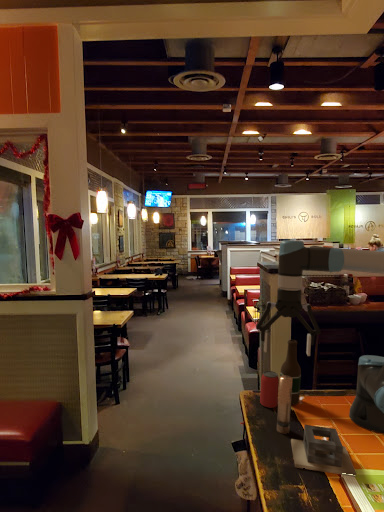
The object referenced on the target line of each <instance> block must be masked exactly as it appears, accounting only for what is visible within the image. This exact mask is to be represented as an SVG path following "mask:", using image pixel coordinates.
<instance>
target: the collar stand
mask: <svg viewBox="0 0 384 512" xmlns="http://www.w3.org/2000/svg"><path fill="white" fill-rule="evenodd" d="M303 428H304V429H303V440H302V439H295V438H291V439H290V444H291V450H292V451H291V452H292V457H293V462H294V467H295V468H298V469H303V468H305V469H304V470H310V471H311V470H312V471H318V472H322V473H323V472H324V473H330V474H336V475H337V474H338V475H342V473H346V474H353V475H356V476H357V471H356V469H355V467H354V465H353V462H352V459H351V457H350V455H349V451H348V450H347V448H346V446H345V445H343V444H342V440H341V438H340V435H339V433H338V431H337V429H336V428H335V427H334V428H333V427H325V426H318V425H317V426H316V425H310V424H304V427H303ZM316 437H322V438H328V439H321V438H316Z"/></svg>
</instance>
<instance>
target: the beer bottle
mask: <svg viewBox="0 0 384 512" xmlns="http://www.w3.org/2000/svg"><path fill="white" fill-rule="evenodd" d="M297 345H298V341H297V340H295V339H288V341H287V352H286V358H285V360H284V362H283V363H282V365H281V367H280V374H279V377H280V376H282V375H287V376H290V377H292V394H291V406H295V405H298V403H299V402H300V394H301V380H302V368H301V366H300V364H299V362H298V358H297V357H298V355H297V354H298V353H297V351H298V350H297V349H298V348H297Z"/></svg>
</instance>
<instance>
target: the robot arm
mask: <svg viewBox="0 0 384 512" xmlns="http://www.w3.org/2000/svg"><path fill="white" fill-rule="evenodd" d="M278 249H279V251H278V268H277V270H278V273H277V275H278V276H277V287H278V288H277V295H276V302H271V301H270V300H268V301H267V302H266V307H265V309H264V311H263V313H262V314H261V316H260V318H259V319H258V321H257V323H256V325H255V330H257V331H260V340H261V342H264V343H263V345H264V346H263V352H264V353H267V350H268V329H269V328H270V327H271V326H272V325H273V324H274V323H275V322H276V321H277V320H278V319H279V318H281V317H283V318H291V319H292V318H293V319H294V318H295V317H296V318H297V319H298V320H299V321H300V323H301V324H302V326H303V327H304V328H305V330H307V331H308V333H307V335H306V351H305V353H306V355H307V357H311V347H312V346H314V345H315V337H316V335H321V334H322V332H321V329H320V326H319V325H318V322H317V320H316V318H315V316H314V314H313V310H312V305H311V304H310V303H306V304H302V288H303V272H304V271H306V272H307V271H308V272H309V271H311V272H324V273H325V272H327V273H328V272H329V273H335V272H336V273H340V272H341V271H351V272H361V273H369V274H380V275H384V251H377V250H368V249H367V250H366V249H354V248H341V247H329V246H320V245H312V246H309V247H307V246H305V242H304V241H303V240H288V239H287V240H282V241H280V244H279V248H278ZM274 307H275V308H276V310H277V311H275V313H274V314H273V315H272V316H271V317H270V318H269V319H267V321H266V322H265V320H266V318H267V317H268V315H269V314H270V312H271V310H273V308H274ZM302 309H304V311H305V312H306V313H307V315H308V317H309V319H310V322H311V323H312V326H313V327H314V329H312V327H311V326H310V325H309V323H308V322H307V320H305V318H304V317H303V316H302V315H301V314H300V312H301V311H302ZM264 322H265V324H264ZM348 416H349V418H350V421H352V422H353V423H354V424H356V425H357V426H359V427H361V428H362V429H366V430H367V431H371V432H375V433H383V434H384V356H379V355H373V354H371V355H369V354H366V355H365V354H364V355H361V356H360V357H359V358H358V364H357V379H356V393H355V398H354V399H353V401H352V403H351V406H350V408H349V414H348Z"/></svg>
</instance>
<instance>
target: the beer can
mask: <svg viewBox="0 0 384 512" xmlns="http://www.w3.org/2000/svg"><path fill="white" fill-rule="evenodd" d="M279 382H280V377H279V376H278V373H277V372H276V371H272V370H264V371H263V372H262V376H261V378H260V390H259V391H260V394H259V395H260V396H259V397H260V398H259V403H260V404H261V405H262V406H263V407H265V408H269V409H273V408H275V407H278V399H279Z"/></svg>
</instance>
